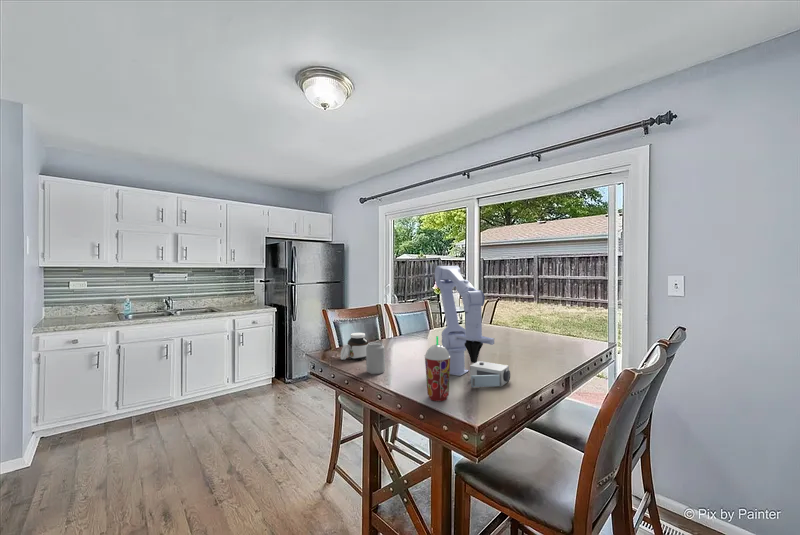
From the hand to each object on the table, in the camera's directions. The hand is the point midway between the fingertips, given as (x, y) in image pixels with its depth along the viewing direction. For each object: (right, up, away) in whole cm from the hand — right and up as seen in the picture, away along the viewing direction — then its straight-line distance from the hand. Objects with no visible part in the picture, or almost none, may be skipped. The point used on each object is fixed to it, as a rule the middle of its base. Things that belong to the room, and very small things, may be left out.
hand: (474, 362), depth 122 cm
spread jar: (-48, -9, +38) cm, 62 cm away
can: (-36, -9, +17) cm, 41 cm away
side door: (+4, -8, -3) cm, 9 cm away
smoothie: (-14, -9, -11) cm, 20 cm away
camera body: (+7, -8, +5) cm, 12 cm away
